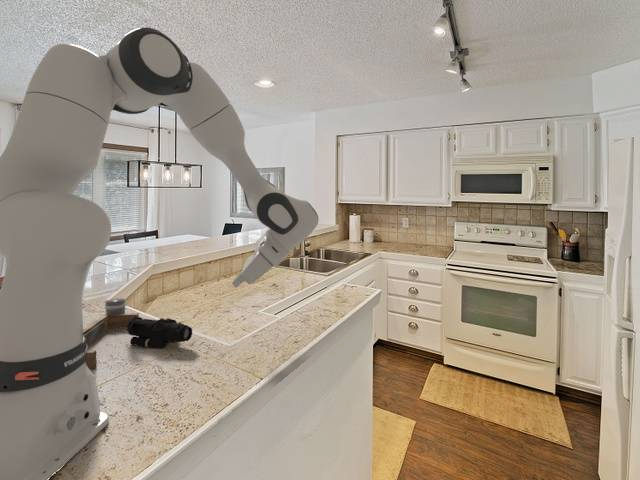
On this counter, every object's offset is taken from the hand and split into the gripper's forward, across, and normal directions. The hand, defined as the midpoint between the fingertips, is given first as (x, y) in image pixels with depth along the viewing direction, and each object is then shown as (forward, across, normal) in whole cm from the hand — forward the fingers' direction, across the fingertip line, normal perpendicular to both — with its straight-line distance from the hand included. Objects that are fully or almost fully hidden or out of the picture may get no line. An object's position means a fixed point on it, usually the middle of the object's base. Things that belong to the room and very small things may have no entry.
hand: (234, 284), depth 89 cm
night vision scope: (+25, 0, -2) cm, 25 cm away
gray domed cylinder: (+38, -17, -15) cm, 44 cm away
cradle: (+35, 0, -12) cm, 37 cm away
